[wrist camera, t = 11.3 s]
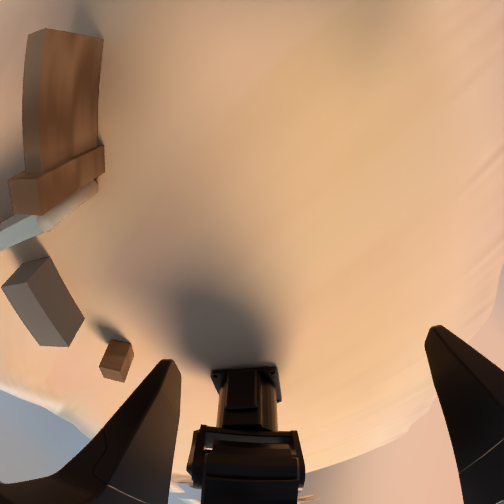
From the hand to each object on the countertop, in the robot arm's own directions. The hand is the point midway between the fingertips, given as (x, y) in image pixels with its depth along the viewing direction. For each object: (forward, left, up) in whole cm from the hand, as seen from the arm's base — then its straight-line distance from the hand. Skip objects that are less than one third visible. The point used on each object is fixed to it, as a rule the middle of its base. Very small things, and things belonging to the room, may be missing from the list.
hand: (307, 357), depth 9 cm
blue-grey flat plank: (+4, +20, -11) cm, 23 cm away
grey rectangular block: (-4, +21, -11) cm, 25 cm away
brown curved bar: (+1, +13, -11) cm, 17 cm away
